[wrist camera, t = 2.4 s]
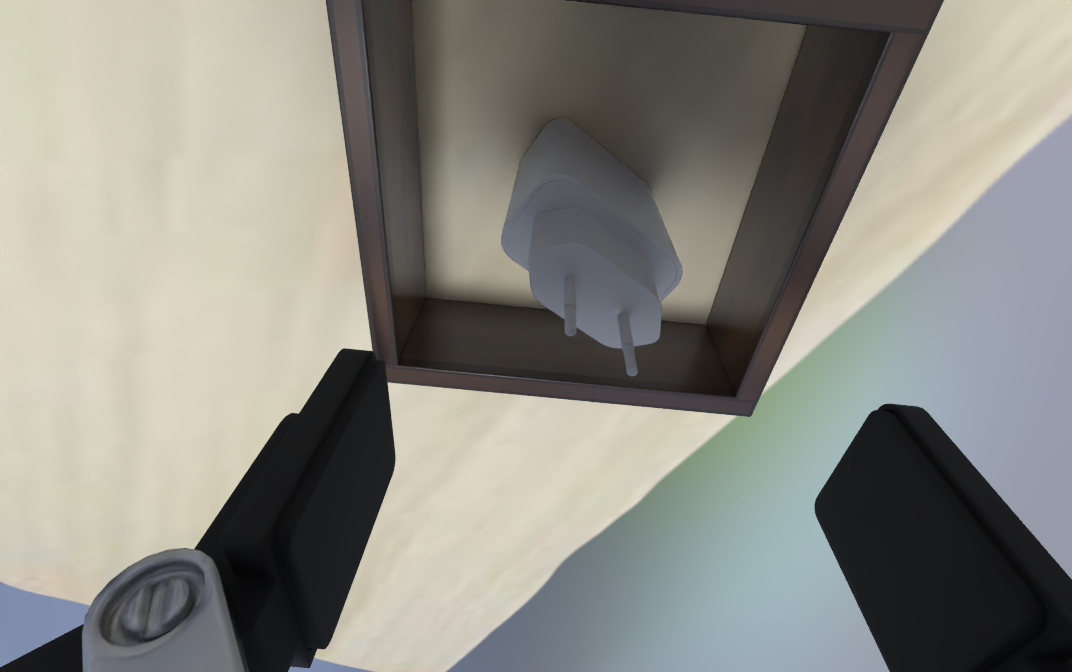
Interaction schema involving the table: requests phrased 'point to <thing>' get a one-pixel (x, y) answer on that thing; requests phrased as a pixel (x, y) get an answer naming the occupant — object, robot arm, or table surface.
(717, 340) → the square frame
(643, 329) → the power adapter
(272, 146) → the table surface
